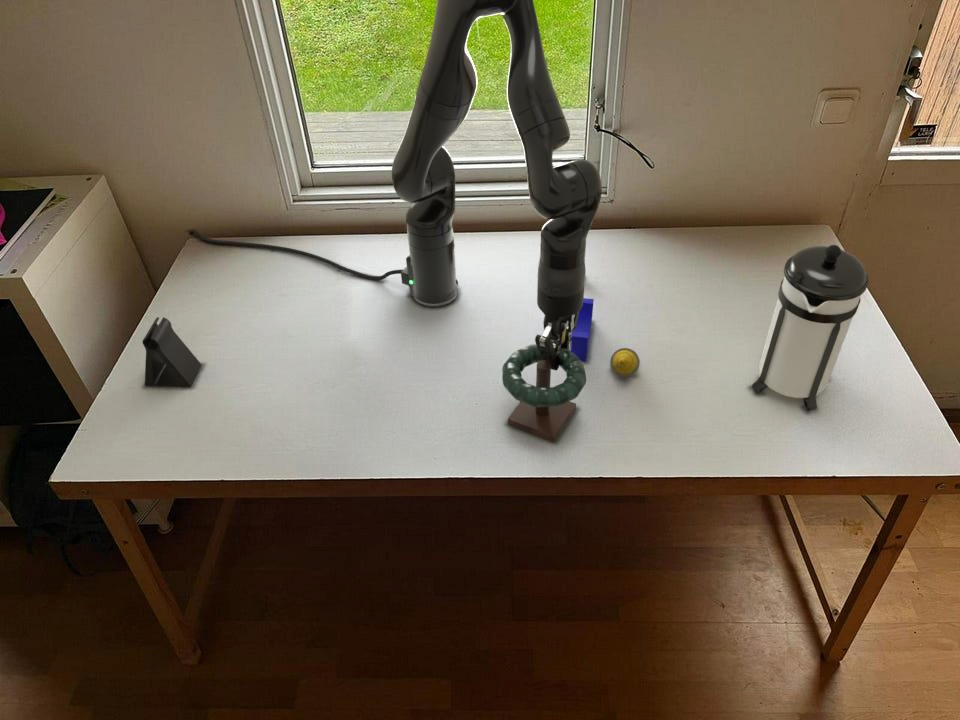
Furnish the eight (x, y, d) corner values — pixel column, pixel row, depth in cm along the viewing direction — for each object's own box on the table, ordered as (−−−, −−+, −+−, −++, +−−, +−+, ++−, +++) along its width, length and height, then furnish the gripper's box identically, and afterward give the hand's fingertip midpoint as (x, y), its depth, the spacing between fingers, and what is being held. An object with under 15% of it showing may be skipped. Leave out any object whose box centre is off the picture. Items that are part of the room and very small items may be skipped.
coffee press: (854, 405, 137) (912, 266, 117) (769, 418, 136) (813, 279, 116) (807, 343, 150) (853, 208, 130) (729, 354, 148) (763, 218, 128)
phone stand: (145, 385, 146) (123, 337, 138) (157, 364, 151) (137, 316, 143) (191, 387, 146) (172, 338, 138) (202, 366, 150) (184, 317, 142)
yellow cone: (645, 370, 146) (642, 368, 137) (618, 381, 148) (614, 380, 138) (633, 344, 147) (630, 341, 137) (607, 356, 148) (602, 353, 139)
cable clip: (569, 320, 157) (570, 296, 153) (591, 322, 157) (593, 299, 153) (562, 359, 149) (563, 335, 145) (586, 361, 148) (588, 337, 144)
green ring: (487, 393, 130) (487, 379, 128) (525, 345, 139) (525, 331, 137) (563, 422, 125) (564, 408, 122) (598, 369, 134) (599, 355, 131)
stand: (507, 424, 136) (507, 372, 128) (530, 393, 142) (531, 341, 134) (554, 442, 133) (556, 390, 125) (575, 409, 139) (579, 357, 130)
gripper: (558, 252, 129) (554, 332, 141) (519, 298, 120) (519, 379, 132) (600, 264, 127) (593, 344, 138) (563, 312, 118) (559, 393, 129)
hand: (557, 361), depth 135 cm, fingers closed on green ring, 3 cm apart
